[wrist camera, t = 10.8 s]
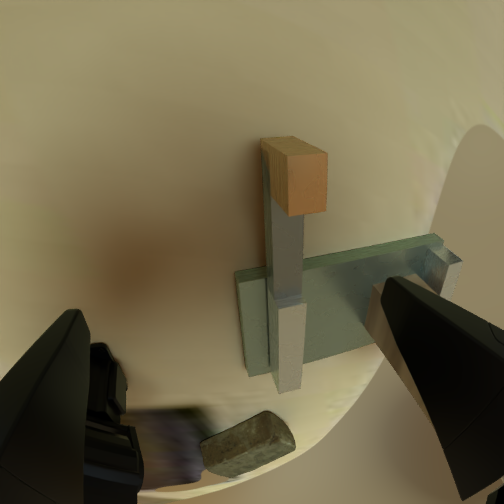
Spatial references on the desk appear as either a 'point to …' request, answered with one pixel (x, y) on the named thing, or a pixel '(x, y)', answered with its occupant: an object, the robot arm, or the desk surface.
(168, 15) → the desk surface
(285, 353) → the light brown wooden block
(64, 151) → the desk surface
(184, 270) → the desk surface
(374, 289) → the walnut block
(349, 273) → the frosted green glass slab
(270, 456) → the stone block
